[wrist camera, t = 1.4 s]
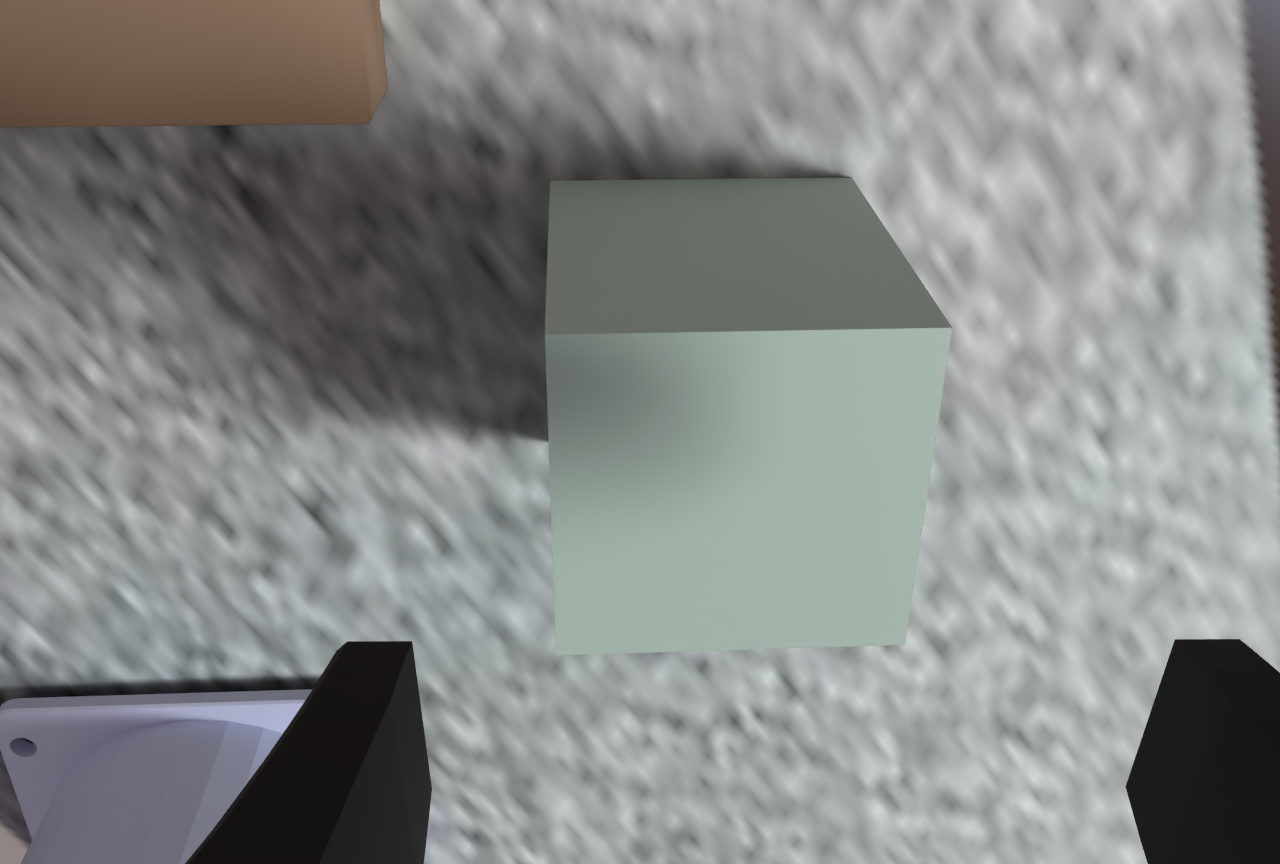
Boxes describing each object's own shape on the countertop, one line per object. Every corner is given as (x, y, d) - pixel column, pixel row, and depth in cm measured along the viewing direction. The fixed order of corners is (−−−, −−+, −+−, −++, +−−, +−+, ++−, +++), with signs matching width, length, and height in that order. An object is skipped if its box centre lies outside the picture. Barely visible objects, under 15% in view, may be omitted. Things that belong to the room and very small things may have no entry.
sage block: (825, 436, 22) (905, 644, 17) (557, 442, 22) (556, 655, 17) (850, 176, 20) (952, 327, 15) (550, 179, 20) (544, 335, 14)
